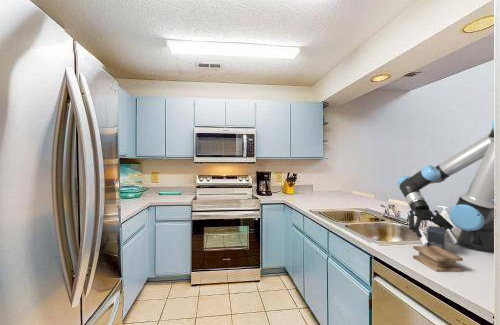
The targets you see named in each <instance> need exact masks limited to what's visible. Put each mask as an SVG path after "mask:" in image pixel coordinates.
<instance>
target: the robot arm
mask: <svg viewBox="0 0 500 325" xmlns="http://www.w3.org/2000/svg"><path fill="white" fill-rule="evenodd" d="M489 132H490V133H488V134H487V135H485V136H484V137H481V138H480V139H479V140H477V141H476V142H474V143H472V144H470V145H469V146H467V147H466V148H463V150H461V151H459V152H457V153H456V154H454V155H453V156H451V157H449V158H447V159H446V160H444V161H442V162H441V163H439V164H438V165H436V166H434V165H430V164H429V165H427V166H425V167H423V168H421V169H420V170H419V171H418V172H416V173H415V174H413V175H411V176H409V175H405V176H402V177H400V178H398V180H397V181H396V182H397V186H398V189H399V190H400V191H401V193H402V195H403V197H404V199H405V201H406V203H407V205H408V206H409V208H410V210H409V211H408V212H407V215H408V229H409V231H412V232H413V233H415V234H416V236H417V237H418V238H419V239H420V241H421V244H422V246H427V243H428V241H427V236H426V235H425V234H424V232H423V230H422V228H420V227H421V223H422V222H423V221H429V222H431V223H433V224H434V225H437V227H443V228H445V237H447V239H448V241H449V242H450V244H451V246H455V245H456V244H457V245H459V246H461V247H464V248H466V249H469V250H474V251H479V252H486V253H495V252H494V202H495V201H494V200H493V199H494V197H495V196H494V118H492V123H491V129H490V131H489ZM480 160H481V162H480V163H479V166H478V168H477V170H476V173H475V174H474V176H473V179H472V181H471V183H470V184H469V187H468V188H467V191H466V193H465V194H461V195H460V196H459V198H458V200H457V202H456V204H455V205H454V206H452V207H451V209H450V211H449V213H448V214H449V215H448V217H449V221H450V222H451V223H450V222H449V221H448V220H447V219H446V218H445V217H444V216H442V215H441V214H440V212H439V211H438V210H436V209H435V210H434V211H432V210H430V206H429V204H428V203H427V201H426V200H425V197H424V196H423V194H422V193H421V191H420V190H422V189H423V188H425V187H426V186H428V185H432V184H439V183H442V182H444V181H446V179H448V178H449V177H451V176H453V175H455V174H457V173H458V172H460V171H462V170H464V169H466V168H467V167H469V166H471V165H473V164H475V163H476V162H478V161H480ZM415 217H416V219H415ZM454 226H455V227H456V228H457V229H459V230H460V232H459V235H458V236H457V238H455V233H454V232H453V230H452V229H453V228H454Z"/></svg>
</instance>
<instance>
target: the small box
mask: <svg viewBox="0 0 500 325" xmlns="http://www.w3.org/2000/svg"><path fill="white" fill-rule="evenodd" d="M445 228H446V227H445ZM445 228H443V227H439V226H433V225H428V227H427V232H426V239H427V241H428V243H427V244H426V246H437V247H440V248H442V249H444V250H446V234H445Z"/></svg>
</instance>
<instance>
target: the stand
mask: <svg viewBox="0 0 500 325" xmlns="http://www.w3.org/2000/svg"><path fill="white" fill-rule="evenodd" d="M412 248H413V250H415V251H417V252H418V255H415V254H414V255H412V258H413V259H414V260H416V261H418V262H419V263H421V264H423V265H425V266H426V267H428V268H429V269H431V270H433V271H434V272H436V273H444V272H446V273H448V272H454V273H455V272H457V273H458V272H460V273H462V272H463V270H464V268H462V267H460V266H458V265H456V262H464V258H463V257H461V256H459V255H456V254H454V253H452V252H450V251H449V250H446V249H445V250H444V249H442V248H440V247H437V246H427V245H413V247H412Z"/></svg>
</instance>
